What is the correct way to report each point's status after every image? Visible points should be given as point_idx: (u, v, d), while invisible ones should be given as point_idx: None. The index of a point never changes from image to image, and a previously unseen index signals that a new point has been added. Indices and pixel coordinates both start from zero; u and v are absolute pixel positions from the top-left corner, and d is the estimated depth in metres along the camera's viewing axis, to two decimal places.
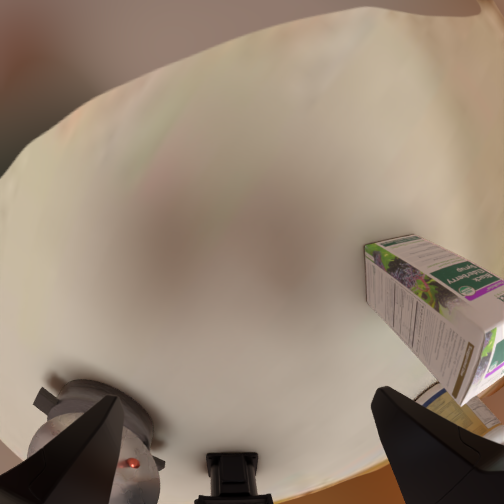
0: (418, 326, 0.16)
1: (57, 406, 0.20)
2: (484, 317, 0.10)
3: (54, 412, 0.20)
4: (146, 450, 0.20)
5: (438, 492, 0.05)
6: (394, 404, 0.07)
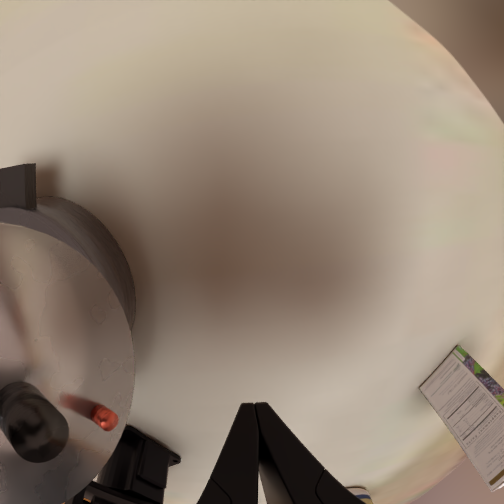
0: (484, 424, 0.13)
1: (31, 214, 0.10)
2: None
3: (12, 216, 0.10)
4: (128, 404, 0.12)
5: None
6: (259, 425, 0.07)
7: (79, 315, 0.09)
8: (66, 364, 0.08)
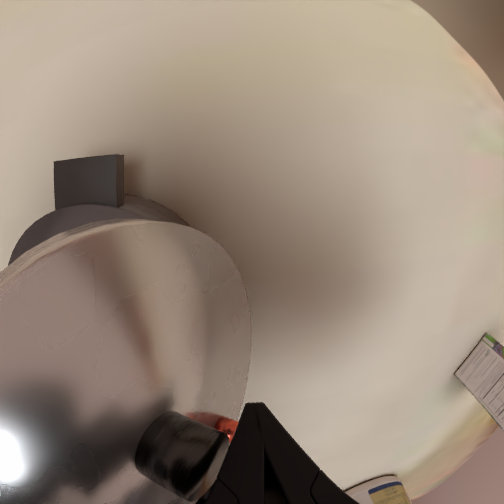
0: None
1: (127, 213, 0.11)
2: None
3: (100, 215, 0.10)
4: (238, 411, 0.12)
5: None
6: (255, 425, 0.07)
7: (224, 324, 0.09)
8: (207, 380, 0.09)
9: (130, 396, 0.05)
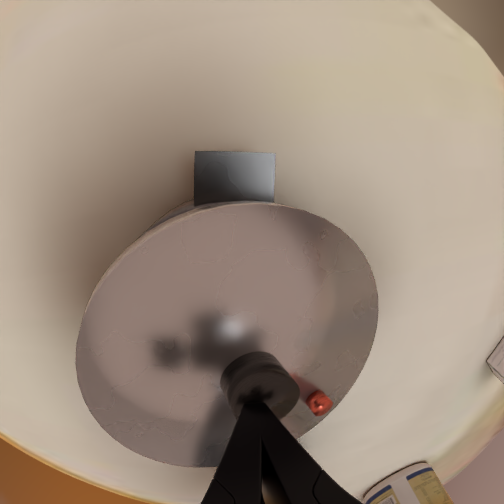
0: None
1: None
2: None
3: None
4: (341, 397, 0.13)
5: None
6: (256, 425, 0.07)
7: (344, 307, 0.11)
8: (315, 347, 0.11)
9: (238, 321, 0.09)
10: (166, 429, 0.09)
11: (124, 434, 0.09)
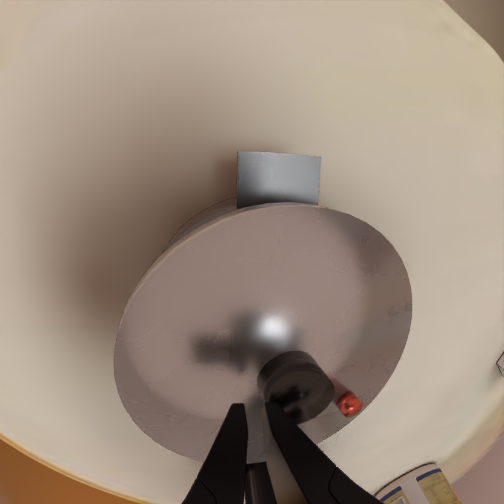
0: None
1: None
2: None
3: None
4: (370, 400, 0.13)
5: None
6: (269, 424, 0.07)
7: (381, 310, 0.11)
8: (350, 349, 0.11)
9: (280, 320, 0.09)
10: (198, 425, 0.10)
11: (155, 428, 0.09)
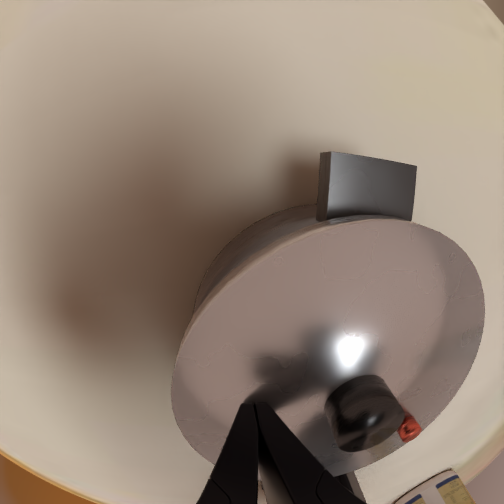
0: None
1: None
2: None
3: None
4: (427, 424, 0.10)
5: None
6: (259, 425, 0.07)
7: (455, 333, 0.08)
8: (421, 373, 0.09)
9: (361, 343, 0.08)
10: None
11: (207, 446, 0.09)
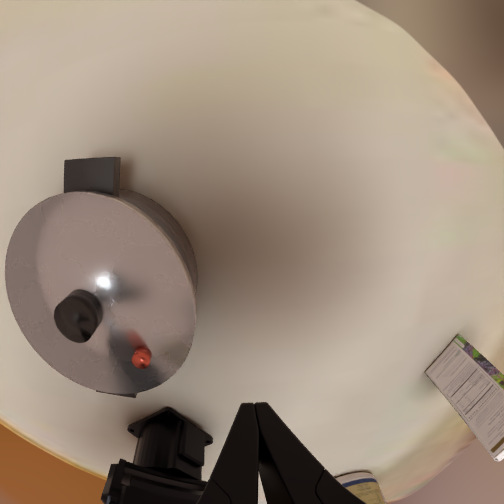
0: (483, 400, 0.17)
1: None
2: None
3: None
4: (175, 367, 0.15)
5: None
6: (259, 425, 0.07)
7: (146, 274, 0.13)
8: (127, 302, 0.14)
9: (70, 264, 0.13)
10: (45, 333, 0.14)
11: (26, 329, 0.14)
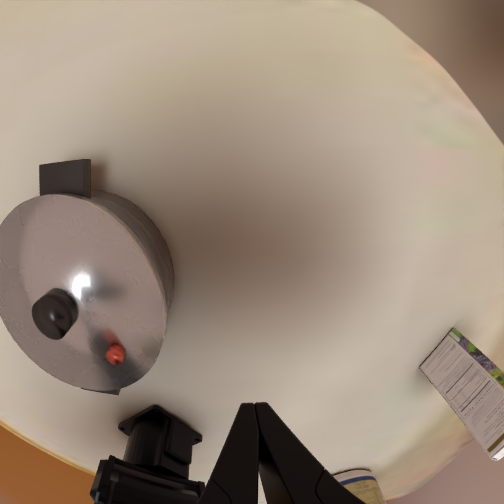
0: (480, 397, 0.16)
1: None
2: None
3: None
4: (149, 363, 0.15)
5: None
6: (259, 425, 0.07)
7: (114, 272, 0.13)
8: (99, 299, 0.14)
9: (45, 264, 0.13)
10: (28, 331, 0.14)
11: (11, 328, 0.14)
